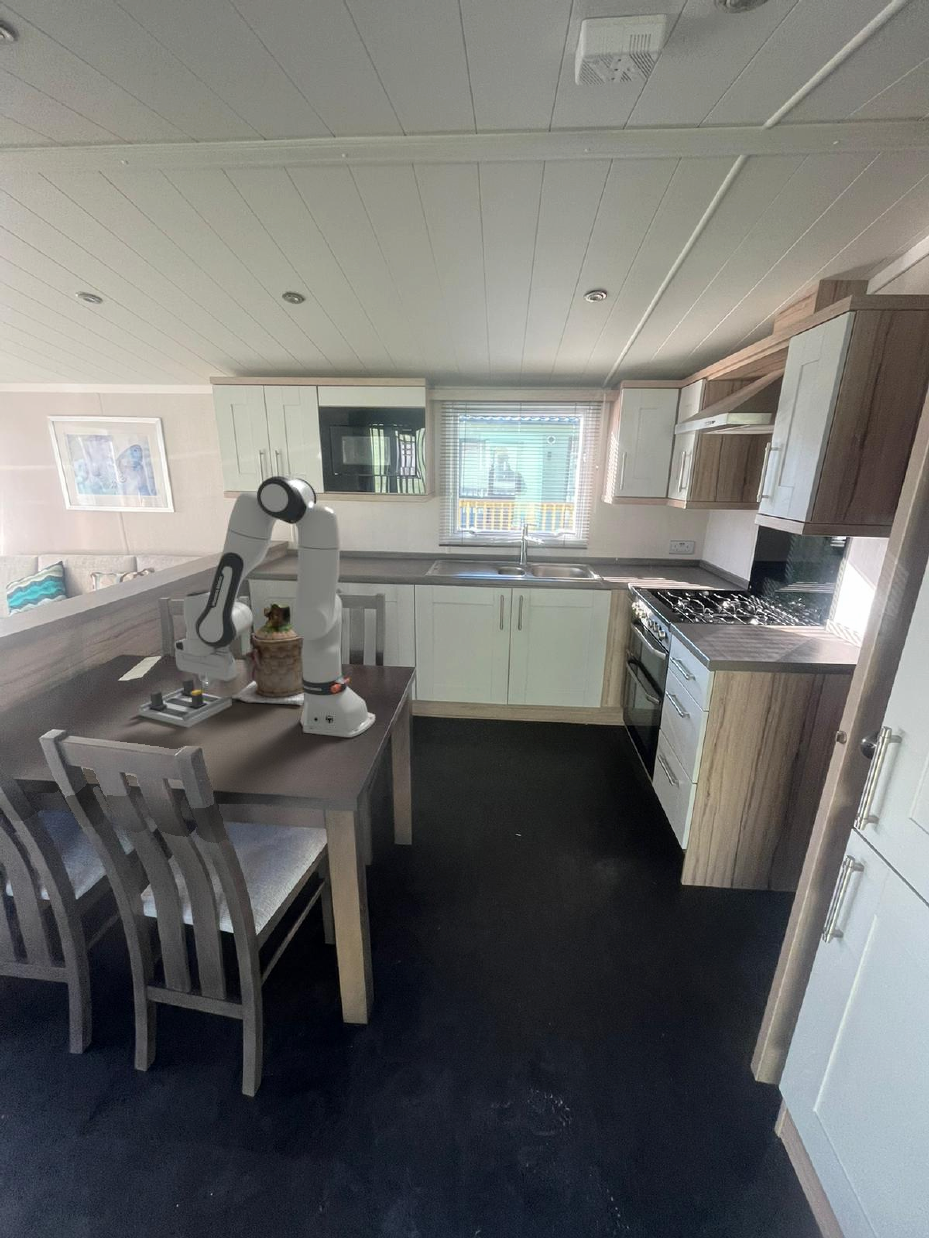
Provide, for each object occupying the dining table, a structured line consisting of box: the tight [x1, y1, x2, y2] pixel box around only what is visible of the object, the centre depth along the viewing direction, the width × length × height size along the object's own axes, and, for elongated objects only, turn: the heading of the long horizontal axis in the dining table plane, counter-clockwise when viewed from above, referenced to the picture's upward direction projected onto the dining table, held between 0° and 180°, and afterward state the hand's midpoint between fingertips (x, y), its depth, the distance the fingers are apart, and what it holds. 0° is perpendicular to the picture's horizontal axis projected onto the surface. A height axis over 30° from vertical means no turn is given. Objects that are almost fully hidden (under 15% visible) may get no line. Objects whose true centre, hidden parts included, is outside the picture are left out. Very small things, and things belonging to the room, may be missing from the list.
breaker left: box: [149, 690, 167, 710], centre depth 143 cm, size 5×2×5 cm, turn 69°
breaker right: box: [181, 677, 195, 696], centre depth 153 cm, size 5×2×5 cm, turn 69°
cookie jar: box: [231, 601, 304, 707], centre depth 160 cm, size 25×25×32 cm
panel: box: [138, 687, 233, 728], centre depth 148 cm, size 20×16×3 cm
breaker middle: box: [189, 689, 207, 708], centre depth 145 cm, size 5×2×5 cm, turn 69°
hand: (208, 688), depth 142 cm, fingers closed
